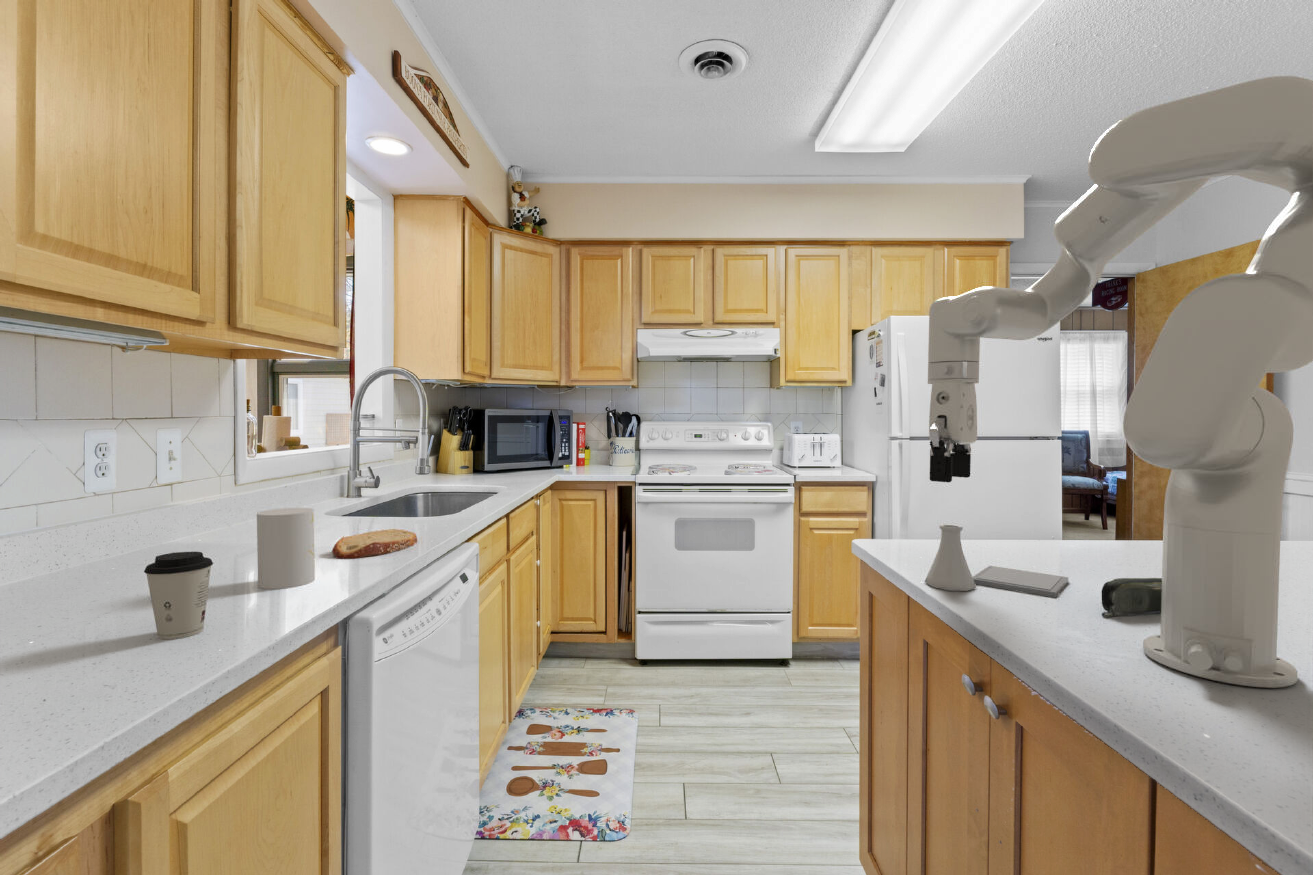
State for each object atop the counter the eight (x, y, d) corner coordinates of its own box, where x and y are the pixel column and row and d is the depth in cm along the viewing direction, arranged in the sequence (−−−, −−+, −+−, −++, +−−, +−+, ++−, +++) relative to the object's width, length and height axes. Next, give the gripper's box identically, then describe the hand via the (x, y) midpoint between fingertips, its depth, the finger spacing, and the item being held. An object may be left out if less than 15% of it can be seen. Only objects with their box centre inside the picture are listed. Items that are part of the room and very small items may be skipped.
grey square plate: (1055, 597, 93) (1055, 591, 93) (970, 583, 101) (970, 577, 101) (1068, 582, 102) (1068, 576, 102) (989, 569, 110) (989, 565, 110)
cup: (324, 580, 103) (323, 510, 102) (273, 591, 96) (272, 516, 96) (299, 573, 107) (297, 506, 107) (248, 584, 100) (247, 512, 100)
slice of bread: (411, 537, 142) (410, 521, 142) (431, 551, 127) (431, 533, 127) (324, 546, 132) (324, 529, 131) (335, 562, 117) (335, 543, 117)
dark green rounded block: (1169, 574, 89) (1090, 578, 86) (1192, 579, 87) (1111, 584, 83) (1168, 607, 90) (1088, 613, 86) (1190, 614, 87) (1109, 620, 83)
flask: (916, 582, 102) (917, 523, 102) (950, 579, 104) (951, 521, 104) (948, 594, 95) (949, 531, 95) (985, 590, 97) (986, 528, 97)
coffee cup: (227, 626, 80) (226, 551, 80) (173, 645, 73) (171, 563, 73) (188, 621, 82) (186, 548, 82) (131, 639, 75) (129, 559, 75)
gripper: (961, 370, 90) (958, 485, 90) (992, 376, 102) (989, 476, 103) (910, 372, 95) (907, 481, 95) (945, 377, 107) (943, 473, 108)
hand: (950, 479), depth 99 cm, fingers open, 9 cm apart
